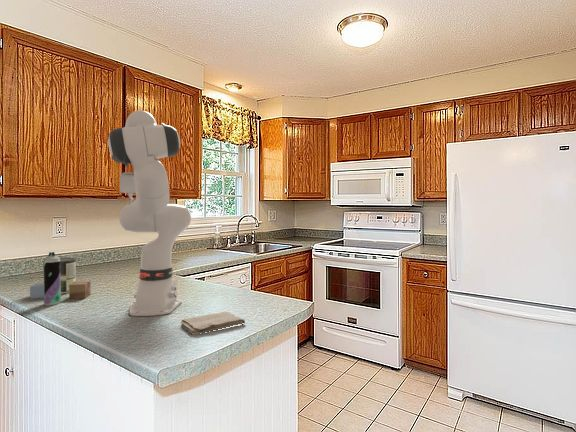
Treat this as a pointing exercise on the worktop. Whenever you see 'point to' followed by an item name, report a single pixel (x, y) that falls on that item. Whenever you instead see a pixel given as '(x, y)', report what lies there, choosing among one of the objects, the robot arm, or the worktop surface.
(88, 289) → the walnut block
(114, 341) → the worktop surface
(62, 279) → the coffee can
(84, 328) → the worktop surface
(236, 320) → the washcloth
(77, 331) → the worktop surface
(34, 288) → the slate block
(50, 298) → the spray can
